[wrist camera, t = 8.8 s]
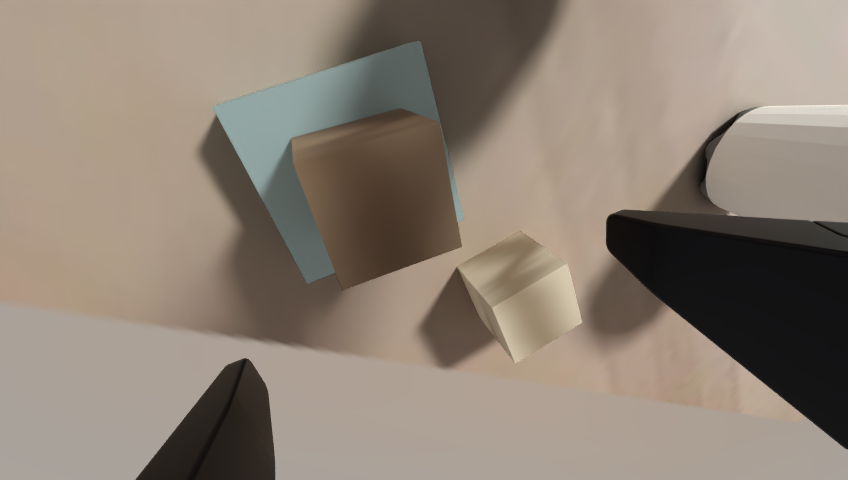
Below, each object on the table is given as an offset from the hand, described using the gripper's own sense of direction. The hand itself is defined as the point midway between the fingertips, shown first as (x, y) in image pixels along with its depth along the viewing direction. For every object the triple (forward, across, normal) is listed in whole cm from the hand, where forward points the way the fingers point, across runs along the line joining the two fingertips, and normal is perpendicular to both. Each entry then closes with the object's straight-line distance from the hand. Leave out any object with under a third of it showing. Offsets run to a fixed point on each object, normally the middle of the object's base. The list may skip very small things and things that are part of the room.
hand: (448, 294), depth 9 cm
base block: (+14, 0, 0) cm, 14 cm away
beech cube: (+13, -7, +10) cm, 18 cm away
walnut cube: (+10, 0, 0) cm, 11 cm away
